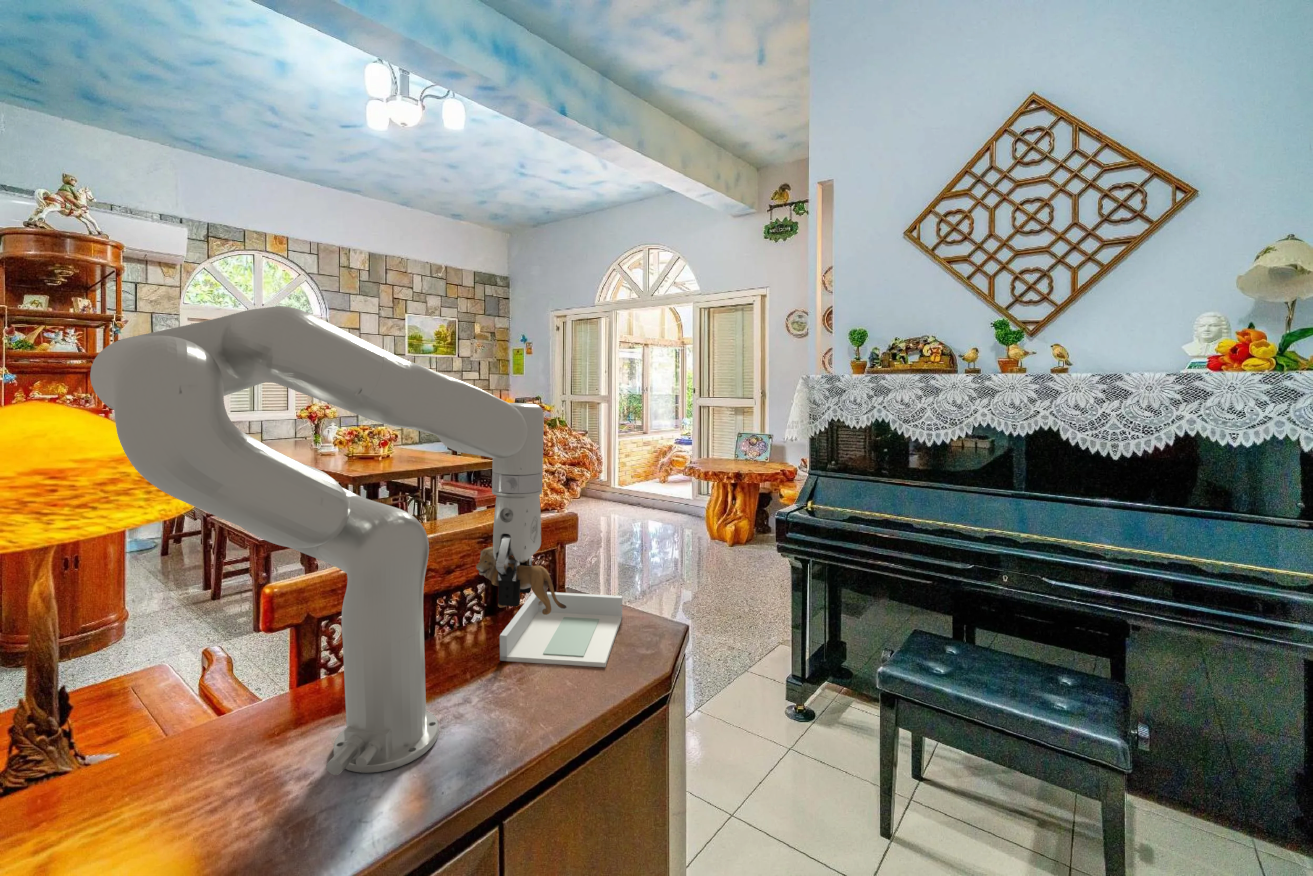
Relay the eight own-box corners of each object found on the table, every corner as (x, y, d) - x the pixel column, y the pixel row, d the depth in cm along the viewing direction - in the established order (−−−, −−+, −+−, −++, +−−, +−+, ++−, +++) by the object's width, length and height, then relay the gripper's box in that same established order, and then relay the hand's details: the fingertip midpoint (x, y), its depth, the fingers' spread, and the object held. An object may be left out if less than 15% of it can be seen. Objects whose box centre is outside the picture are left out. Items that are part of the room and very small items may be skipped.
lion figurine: (470, 608, 92) (470, 550, 91) (488, 596, 97) (488, 542, 96) (560, 617, 88) (560, 557, 88) (573, 605, 93) (573, 548, 93)
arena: (605, 667, 99) (605, 641, 99) (499, 660, 101) (499, 635, 100) (622, 617, 119) (622, 595, 118) (534, 612, 120) (533, 591, 120)
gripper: (524, 495, 83) (521, 621, 84) (555, 476, 99) (552, 582, 101) (472, 492, 83) (470, 617, 85) (511, 474, 100) (509, 579, 102)
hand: (515, 597), depth 93 cm, fingers closed on lion figurine, 5 cm apart
